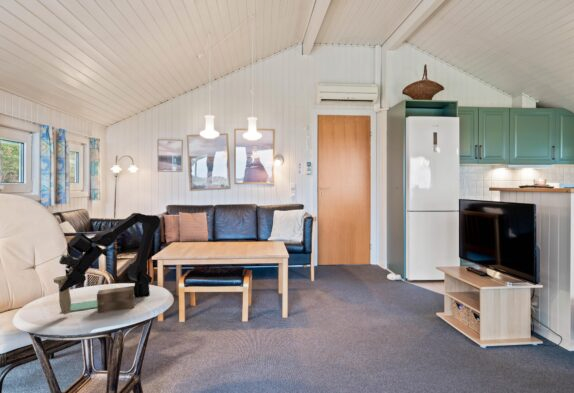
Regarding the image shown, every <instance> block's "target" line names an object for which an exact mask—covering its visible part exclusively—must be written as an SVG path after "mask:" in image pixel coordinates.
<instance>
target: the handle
mask: <svg viewBox="0 0 574 393" xmlns="http://www.w3.org/2000/svg"><path fill="white" fill-rule="evenodd" d="M66 279H67V276H65V275H62V276H58V277H54V278H53V283H54V284H57V285H58V298H59V301H58V302H59V308H60V313H61V312H62V313H61V314H63V315H67V314H70V313H72V312H71V309H70V308H71V304H72V299H71V293H70V288H68V289H66V290H65V291H63V292H60V291H59V290H60V288H61V287H62V285H63V284H64V282H65V281H66Z"/></svg>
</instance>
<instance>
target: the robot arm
mask: <svg viewBox="0 0 574 393" xmlns="http://www.w3.org/2000/svg"><path fill="white" fill-rule="evenodd" d="M137 223H139V224H141V229H142V234H141V239H140V243H139V247H138V251H137V254H136V257H135V261H134V262H133V263H130V264H129V266H128V270H127V272H126V273H127V277H128V279H130V281H131V283H134V285H133V286H134V299H135V298H142V297H149V296H151V295H150V294H151V292H150V283H152V281H153V277H152V276H150V275H149V273H148V265H147V260H148V256H149V252H150V248H151V245H152V241H153V237H154V234H155V232H157V231H158V229H159V227H160V224H161V219H160V217H159V215H157V214H143V213H141V212H133V213H131V214H130V215H129V216H127V217H126V218H124V219H123V220H121V221H120V222H119V223H117V224H115V225H114V226H112V227H111V228H108V229H105V230H102V231H100V232H98V233H96V234H95V235H94V236H92V237H90V238H89V237H88V236H87V235H86V234H85V233H83V232H78V234H76V235H75V236H73V237H72V238H70V240H69V242H68V243H67V245H68V246H69V247H70V248H72V249H73V250H74V251H76V252H78V253H80V254H82V255H79V256H77V257H74V256H72V255H66V254H62V255H61V257H60V259H59V261H58V263H59V264H60V265H63V266H64V265H65V268H66V269H65V271H64V272H65V275H64V276H67V279H66V281H65V282H64V284H63V285H62V287H61V288H60V290H59V289H58V292H59V291H60V292H63V291H65V290H66V289H68V288H69V289H71V288H72V287H74V286H77V285H78V284H84V282H86V280H87V277H86V274H87V273H86V272H87V271H88V270H90V268H93V266H94V264H95V262H96V261H97V260H98V259H99V258H100V257H101V256H102V255H104V256H105V257H107V256H108V250H107V248H108V247H110V246H111V245H112V244H113V243H115V241H116V240H117V239H118V237H119V236H120V235H122V234H123V233H125V232H126V231H127V230H129V229H130V228H131V227H133V226H135V225H136V224H137ZM94 245H95V246H94ZM103 247H107V248H103Z"/></svg>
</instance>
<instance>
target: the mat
mask: <svg viewBox="0 0 574 393" xmlns="http://www.w3.org/2000/svg"><path fill="white" fill-rule="evenodd" d="M70 309H71V312H70V313H72V312H73V313H74V312H80V311H87V310H92V309H98V307H97V299H96V300H90V301H80V302H74V303H71V308H70ZM60 314H62V312H61V311H60Z"/></svg>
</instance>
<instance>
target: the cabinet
mask: <svg viewBox="0 0 574 393" xmlns="http://www.w3.org/2000/svg"><path fill="white" fill-rule="evenodd" d="M134 286H135V285H129V286H123V287H115V288H108V289H106V288H105V289H99V290H97V293H96V300H97V307H98V308H97V313H98V314H100V313H101V314H102V313H107V312H114V311H122V310H127V309H133V308H135V296H134Z"/></svg>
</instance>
